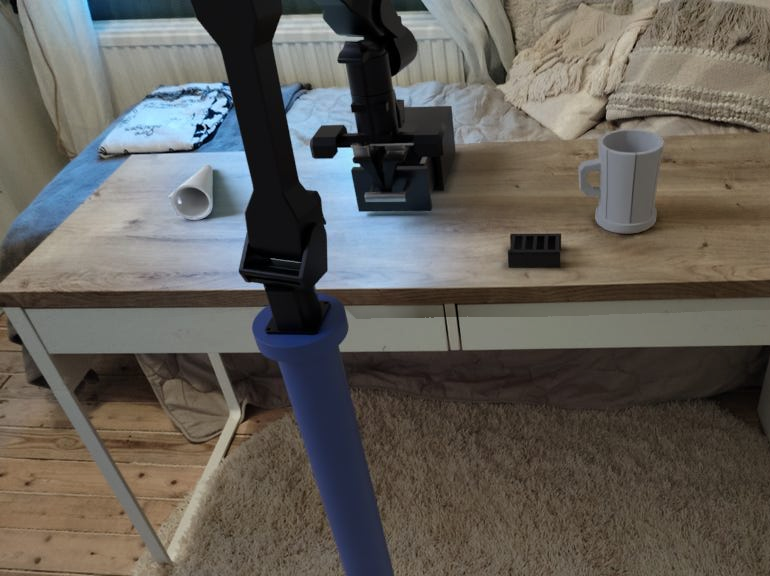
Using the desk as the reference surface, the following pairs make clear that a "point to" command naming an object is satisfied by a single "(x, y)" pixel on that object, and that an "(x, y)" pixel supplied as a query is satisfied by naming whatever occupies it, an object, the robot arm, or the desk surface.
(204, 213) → the long cone
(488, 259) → the desk surface
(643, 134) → the cup
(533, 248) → the rack
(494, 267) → the desk surface
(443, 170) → the black drawer box
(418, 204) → the open drawer with handle
